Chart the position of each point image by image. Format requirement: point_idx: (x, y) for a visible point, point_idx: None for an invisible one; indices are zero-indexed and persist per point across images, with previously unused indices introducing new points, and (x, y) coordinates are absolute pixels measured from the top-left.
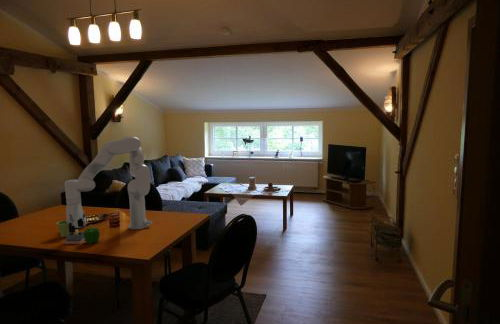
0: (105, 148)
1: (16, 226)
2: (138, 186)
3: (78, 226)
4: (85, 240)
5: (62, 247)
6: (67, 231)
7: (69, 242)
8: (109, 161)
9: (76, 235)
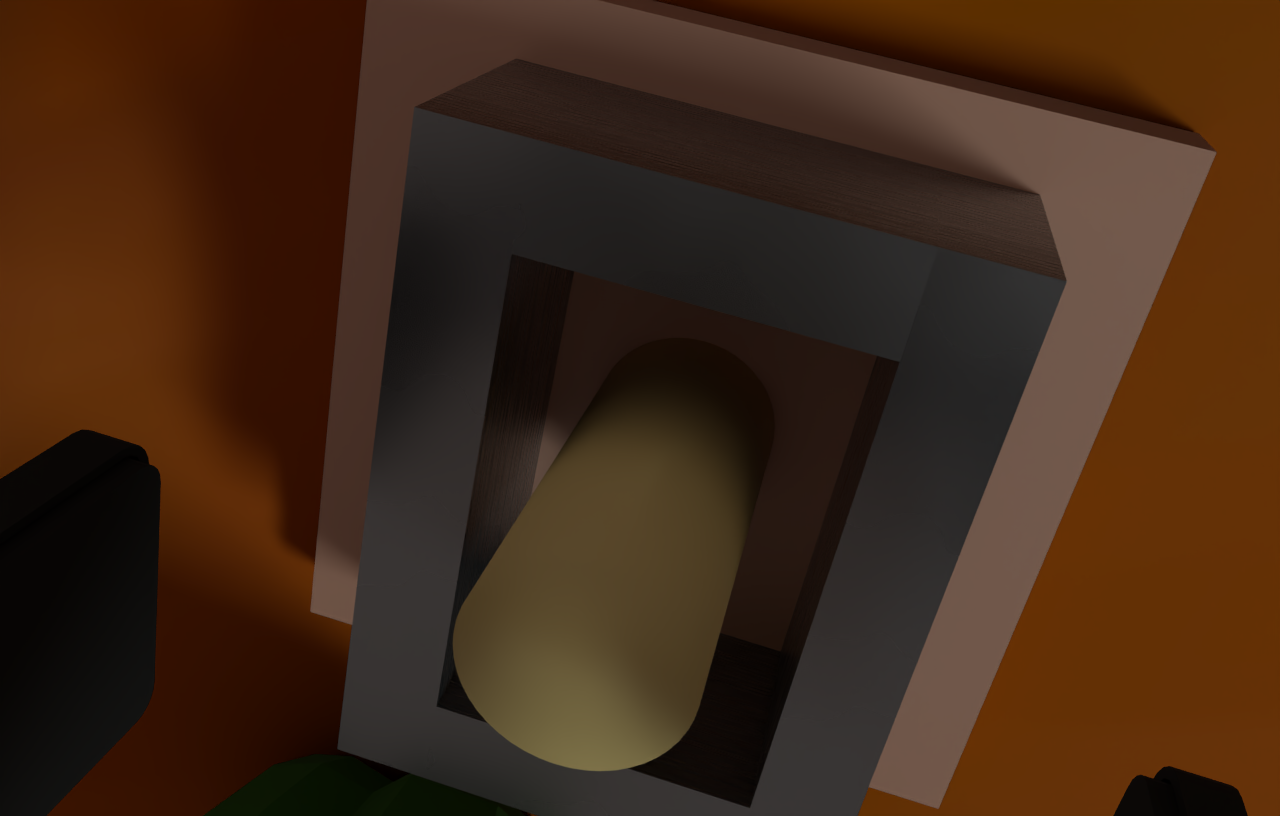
0: None
1: None
2: None
3: (1138, 801)
4: (225, 800)
5: (34, 47)
6: None
7: (350, 228)
8: None
9: (362, 600)
